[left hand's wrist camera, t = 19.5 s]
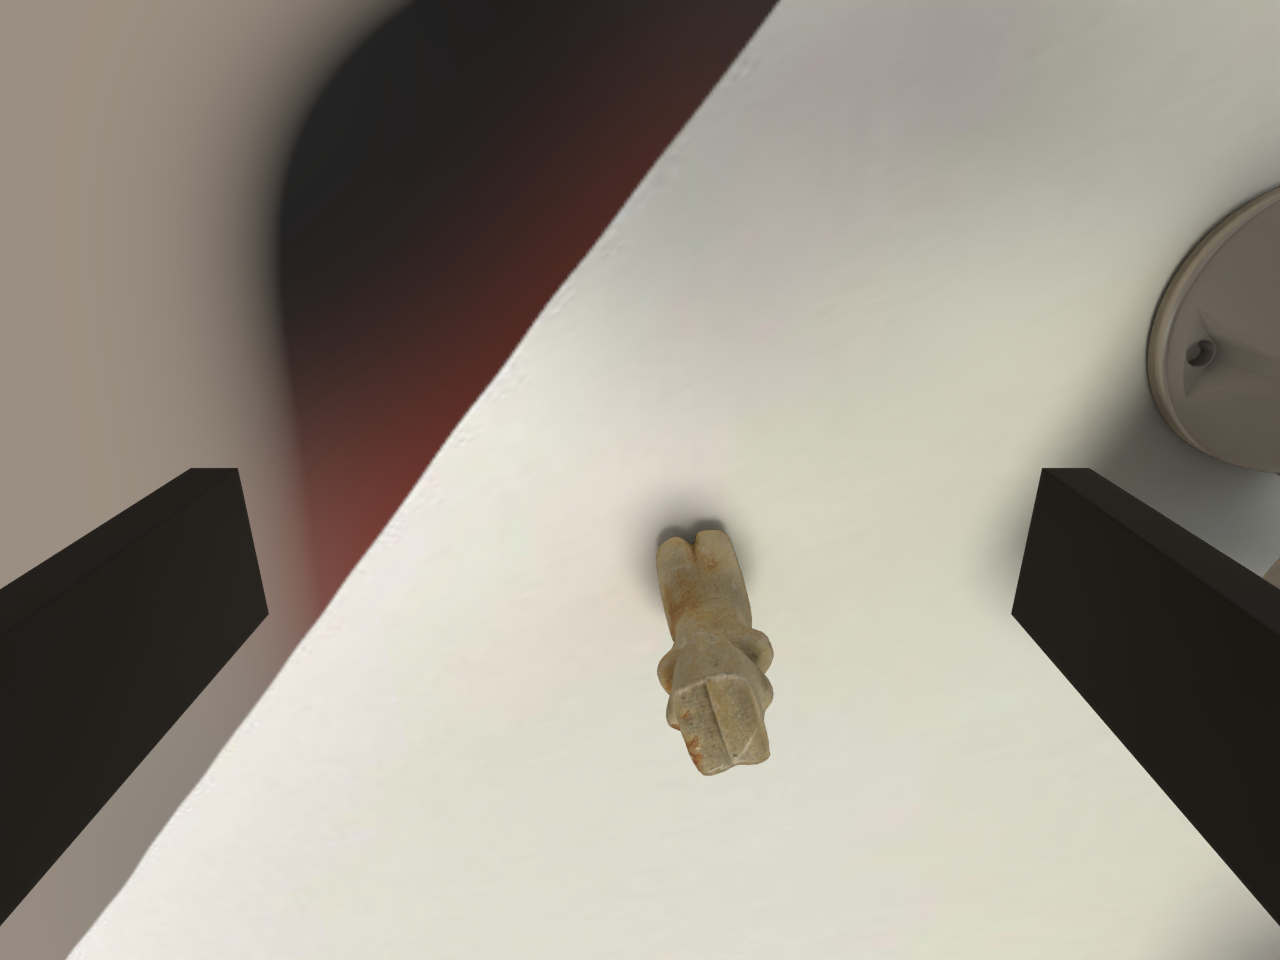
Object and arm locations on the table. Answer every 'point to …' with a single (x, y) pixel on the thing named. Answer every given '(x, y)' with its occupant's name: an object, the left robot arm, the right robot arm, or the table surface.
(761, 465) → the table surface
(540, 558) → the table surface
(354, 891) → the table surface
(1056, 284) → the table surface
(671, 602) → the sculpture
